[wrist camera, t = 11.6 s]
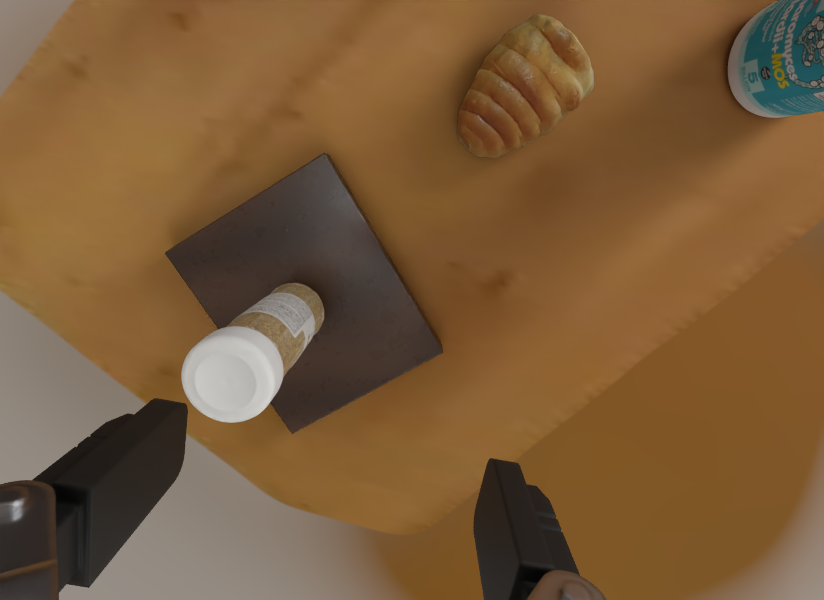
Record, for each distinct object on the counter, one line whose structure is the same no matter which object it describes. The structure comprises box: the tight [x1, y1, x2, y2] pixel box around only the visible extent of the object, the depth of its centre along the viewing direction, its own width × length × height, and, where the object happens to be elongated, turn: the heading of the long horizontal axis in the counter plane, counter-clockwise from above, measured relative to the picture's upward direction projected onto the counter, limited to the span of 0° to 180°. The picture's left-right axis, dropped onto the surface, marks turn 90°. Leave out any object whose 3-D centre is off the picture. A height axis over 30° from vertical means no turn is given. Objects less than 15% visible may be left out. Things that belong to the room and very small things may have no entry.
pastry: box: [457, 14, 594, 158], centre depth 31 cm, size 9×7×4 cm
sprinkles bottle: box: [181, 283, 324, 423], centre depth 29 cm, size 5×5×14 cm
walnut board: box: [165, 153, 443, 434], centre depth 36 cm, size 17×14×2 cm
